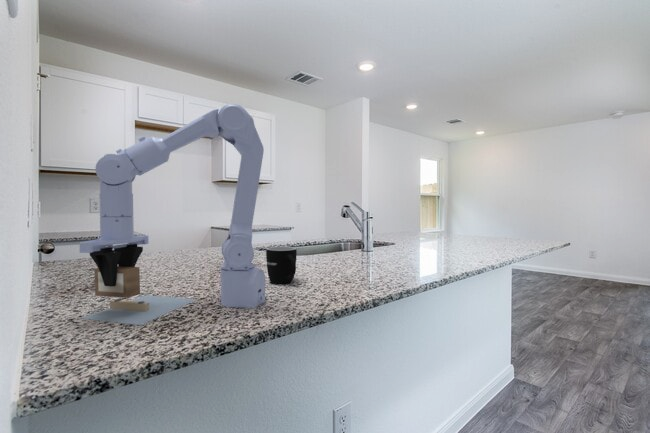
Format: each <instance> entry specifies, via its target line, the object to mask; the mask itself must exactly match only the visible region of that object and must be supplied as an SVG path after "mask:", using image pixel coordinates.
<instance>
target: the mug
mask: <svg viewBox="0 0 650 433" xmlns="http://www.w3.org/2000/svg"><path fill="white" fill-rule="evenodd" d="M297 255H298V254H297V247H294V246H271V247H267V248H266V250H265V256H266V258H265V260H266V268H267V269H266V270H267V276H268V279H269V282H270V283H271V284H273V285H278V284H282V285H288V283H289V284H291V283H292V282H293V281H294V278H295V275H296V272H297Z"/></svg>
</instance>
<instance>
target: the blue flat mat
mask: <svg viewBox="0 0 650 433" xmlns="http://www.w3.org/2000/svg"><path fill="white" fill-rule="evenodd" d="M197 300H198V299H195V298H186V297H185V298H183V297H172V296H160V295H148V294H146V295H143V296H140V297H137V298H134V299H132V300H122V299H121V298H118V299H117V298H116V299H111V300H109V307H108V308H105V309H103V310H100V311H97V312H93V313H91V314H88V315H85V316H83V317H80V318H79V319H82V320H92V321H101V322H109V323H119V324H127V325H137V326H142V325H144V324H146V323H149V322H151V321H154V320H156V319H158V318H160V317H163V316H164V315H167V314H169V313H171V312H173V311H176V310H178V309H180V308H182V307H184V306H186V305H189V304H191V303H194V302H196V301H197Z"/></svg>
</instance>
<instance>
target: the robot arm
mask: <svg viewBox="0 0 650 433" xmlns="http://www.w3.org/2000/svg"><path fill="white" fill-rule="evenodd" d="M219 136H220V137H221V138H222V139H223V140H224V141H226V142H228V143H229V144H231V145H232V146H233V147H234V148H235V150H236V151H237V152H238V153H239V155H240V156H241V157H240V161H239V162H240V163H239V170H238V177H237V181H236V182H237V183H236V189H235V194H234V195H235V196H234V202H233V208H232V213H231V214H232V215H231V219H230V225H229V228H228V234H227V238H226V239H225V240H224V242H223V244H222V246H221V253H222V254H221V255H222V256H223V259H224V262H222V264H221V265H220V305H221V306H223V307H226V308H246V309H255V308H256V307H258V306H260V305H261V304H262V303H264V302H266V274H265V272H264V270H263V269H260V268H256V267H255V266H254V262H253V260H254V257H255V250H254V247H253V243H252V241H253V239H252V238H253V222H254V215H255V208H256V202H257V196H258V190H259V185H260V184H259V183H260V178H261V177H260V176H261V171H262V164H263V158H264V151H265V150H264V145H263V143H262V141H261V138H260V135H259V133H258V131H257V128H256V125H255V122H254V118H253V116H252V115H250V114H249V112H248V111H247V110H246V109H245V108H244V107H243V106H241V105H240V104H237V103H228V104H225V105H223V106H222V107H221V108H220V109H219V108H214V109H212V110H210V111H209V112H206V113H205V114H203V115H201V116H199V117H198V118H196V119H193V120H192V121H190V122H189V123H186V124H185V125H183V126H182V127H180V128H178V129H176V130H174V131H172V132H171V133H169V134H167V135H165V136H164V137H162V138H159V137H156V136H149V137H146V136H141V137H140V138H138V141H139V142H137V143H134V144H133V145H131V146H128V147H126V148H125V149H121V148H119V149H117V150H116V151H115V152H116V153H106V154H104V156H103V157H101V158H99V159H98V160H97V162H96V164H95V167H94V168H95V169H94V170H95V174H96V175H97V177H98V179H99V180H100V181H99V233H100V234H99V235H100V237H99V238H96V239H91V240H86V241H80V242H79V253H81V254H83V253H84V254H89V256H90V257H91V259H92V260H93V262H94V263H95V265H96V266H97V267H96V268H98V269H99V271H100V273H101V276H102V279H103V282H104V285H105V286H111V287H113V286H116V281H117V267H118V266H122V267H136V265H137V262H138V260H139V257H141V254H142V253H143V251H144V247H143V246H140V245H149V235H148V234H139V235H134V234H135V233H134V232H135V231H134V193H133V182H134V181H135V179H136V176H143V175H144V174H147V173H148V172H150V171H151V170H154V169H155V168H157V167H159V166H162V165H163V164H165V163H167V162H168V161H169V158H170V155H171V153H173V152H174V151H177V150H178V149H181V148H183V147H186V146H188V145H190V144H191V143H193V142H194V143H195V142H196V141H197V140H200V139H202V138H211V139H218V138H219Z"/></svg>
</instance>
